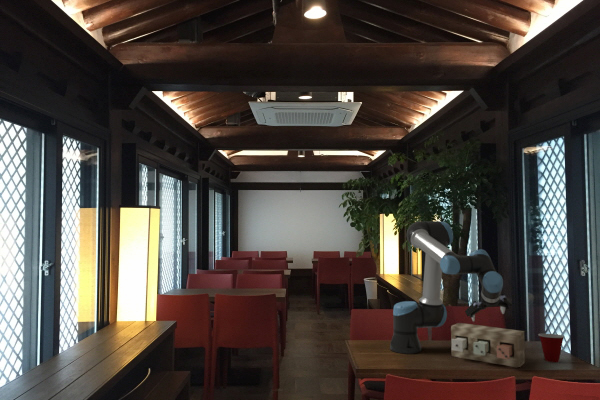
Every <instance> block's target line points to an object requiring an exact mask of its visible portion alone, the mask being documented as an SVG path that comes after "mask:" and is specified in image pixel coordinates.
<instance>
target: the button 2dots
mask: <svg viewBox="0 0 600 400" xmlns="http://www.w3.org/2000/svg"><path fill="white" fill-rule="evenodd" d="M473 347H474V354H478V355H484V356H485V355H486V352H488V351H489V342H488V341H481V340H480V341H478V342H473Z"/></svg>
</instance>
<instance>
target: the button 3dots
mask: <svg viewBox="0 0 600 400" xmlns="http://www.w3.org/2000/svg"><path fill="white" fill-rule="evenodd" d="M512 354H513V350H512V345H508V344H502V345H500V346H497V358H503V359H510V356H511V355H512Z"/></svg>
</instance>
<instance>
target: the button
mask: <svg viewBox="0 0 600 400" xmlns="http://www.w3.org/2000/svg"><path fill="white" fill-rule="evenodd" d="M466 347H467V338H461V337H458V338H456V339H452V350H454V351H460V352H463V349H465V348H466Z"/></svg>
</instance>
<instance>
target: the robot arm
mask: <svg viewBox="0 0 600 400" xmlns="http://www.w3.org/2000/svg"><path fill="white" fill-rule="evenodd" d="M406 230H407V231H406V239H407V241H408V243H409V244H410V245H411V246H412V247H414V248H416V249H420V250H421V251H423V252H424V253H425V257H424V258H425V259H424V271H423V285H422V286H423V287H422V296H421V297H420V298H419V299H418V303H417V301H412V300H411V301H409V300H405V301H400V302H397V303H395V304H394V305H393V310H392V311H393V312H392V314H393V315H392V316H393V317H392V320H393V323H392V325H393V334H392V337H391V340H390V343H389V349H390V351H392V352H394V353H399V354H409V355H410V354H419V353H420V352H421V351H422V345H421V341H420V338H419V337H418V336H419V335H418V329H423V328H433V329H434V328H440V327H442V326H443V325H444V324H445V323H446V320H447V318H448V311H447V308H446V306H445V305H444V302H443V300H442V299H441V289H442V278H443V277H442V276H443V273H444V274H445V275H464V274H465V275H466V274H467V275H468V274H469V275H470V274H472V275H473V274H476V275H477V277H478V279H479V282H480V284H481V292H480V300H479V301H476V300H473V301H472V303H471V304H470V305H469V306H468V307H467V308H466V309H465V311H464V312H465V314H466V315H465V316H466V317H469V318H471V320H472V322H475V319H476V318H475V317H476V314H478V313H479V312H481V311H483V310H486V309H487V308H493V307H494V308H495V307H499V309H500V312H501V314H502V315H504V314H505V312H506V310H509V308H510V307H512V306H513V303H512V301H511V299H510V298H509V297H507V296H506V295H505V293H503V294H502V290H503V287H504V279H503V277H502V275H501V274H500V273H499V272H497V270H496V269H495V266H494V263H493V261H492V259H491V257H490V255H489V253H488V252H487V251H486V250H485V249H477V250H474V251H471V253H470V254H469V255H458V254H456V253H455V252H454V251H452V250H451V249H449V248H448V246H449V245H451V244H452V243H453V240H454V231H453V228H452V227H451V225H450V224H449V223H448V222H445V221H439V220H437V221H436V220H435V221H434V220H433V221H430V220H428V221H426V220H425V221H424V220H423V221H420V220H419V221H415V222H413V223H411V224H410V225H409V226H408V229H406Z"/></svg>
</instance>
